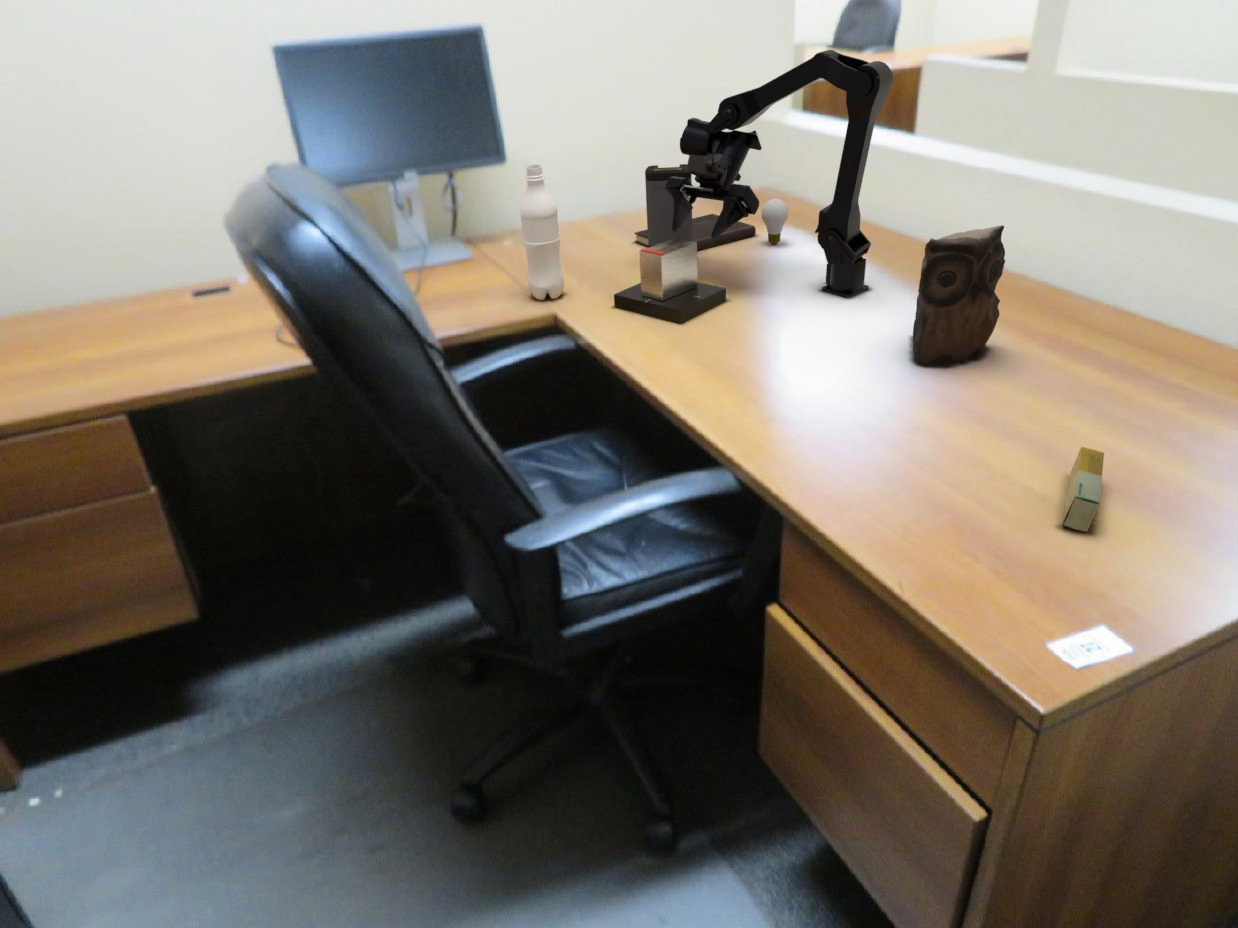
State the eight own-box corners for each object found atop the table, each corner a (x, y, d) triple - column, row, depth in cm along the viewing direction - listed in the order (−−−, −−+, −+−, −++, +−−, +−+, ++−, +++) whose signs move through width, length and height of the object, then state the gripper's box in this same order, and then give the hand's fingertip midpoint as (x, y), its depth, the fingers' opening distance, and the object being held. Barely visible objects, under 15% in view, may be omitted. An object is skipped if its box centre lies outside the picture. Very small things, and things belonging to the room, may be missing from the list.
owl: (994, 346, 137) (1016, 221, 126) (980, 377, 127) (1003, 245, 117) (914, 335, 142) (929, 215, 132) (894, 364, 133) (909, 237, 123)
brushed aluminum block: (676, 281, 166) (675, 236, 161) (697, 286, 162) (697, 241, 158) (641, 295, 160) (639, 249, 156) (662, 301, 157) (661, 254, 152)
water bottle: (560, 302, 167) (547, 170, 154) (525, 302, 168) (509, 171, 156) (569, 290, 173) (557, 162, 160) (535, 289, 174) (521, 163, 162)
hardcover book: (634, 242, 199) (634, 232, 198) (712, 223, 209) (712, 213, 208) (675, 257, 187) (675, 247, 186) (755, 236, 198) (755, 226, 196)
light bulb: (789, 247, 188) (791, 201, 183) (762, 249, 189) (763, 203, 184) (785, 240, 193) (787, 195, 188) (759, 241, 194) (760, 196, 189)
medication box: (1088, 534, 93) (1100, 505, 91) (1061, 526, 94) (1073, 497, 92) (1093, 478, 102) (1105, 450, 100) (1069, 472, 103) (1080, 444, 101)
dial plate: (726, 300, 162) (726, 287, 161) (680, 324, 153) (680, 309, 152) (661, 286, 172) (660, 273, 170) (614, 307, 163) (613, 293, 161)
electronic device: (693, 258, 186) (691, 163, 176) (692, 267, 181) (690, 169, 171) (650, 260, 187) (646, 165, 177) (648, 268, 182) (644, 171, 172)
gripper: (669, 132, 162) (634, 204, 160) (751, 139, 151) (715, 217, 149) (694, 167, 171) (662, 235, 169) (774, 176, 159) (740, 250, 158)
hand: (692, 234), depth 161 cm, fingers open, 9 cm apart
